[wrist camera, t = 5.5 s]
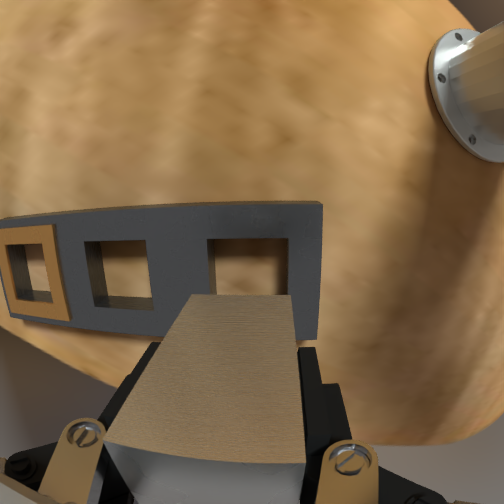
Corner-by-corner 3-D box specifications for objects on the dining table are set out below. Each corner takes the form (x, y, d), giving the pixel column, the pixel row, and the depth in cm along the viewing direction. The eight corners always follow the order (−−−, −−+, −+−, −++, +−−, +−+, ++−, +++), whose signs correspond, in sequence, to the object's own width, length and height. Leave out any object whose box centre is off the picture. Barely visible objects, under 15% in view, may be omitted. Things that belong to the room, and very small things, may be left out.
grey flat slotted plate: (317, 200, 22) (323, 204, 20) (312, 324, 25) (317, 341, 22) (7, 217, 24) (-11, 222, 21) (24, 308, 27) (8, 318, 24)
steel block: (290, 295, 12) (306, 462, 5) (288, 375, 13) (291, 534, 6) (191, 294, 13) (102, 440, 5) (201, 372, 14) (149, 519, 6)
